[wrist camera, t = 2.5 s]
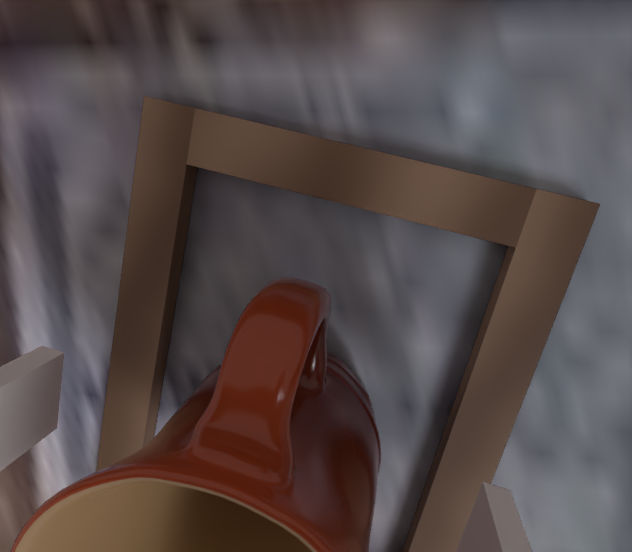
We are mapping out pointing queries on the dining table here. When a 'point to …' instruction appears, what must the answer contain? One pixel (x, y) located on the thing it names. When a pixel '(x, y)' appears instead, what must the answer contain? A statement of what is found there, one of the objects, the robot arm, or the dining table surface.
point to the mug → (240, 453)
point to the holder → (370, 194)
